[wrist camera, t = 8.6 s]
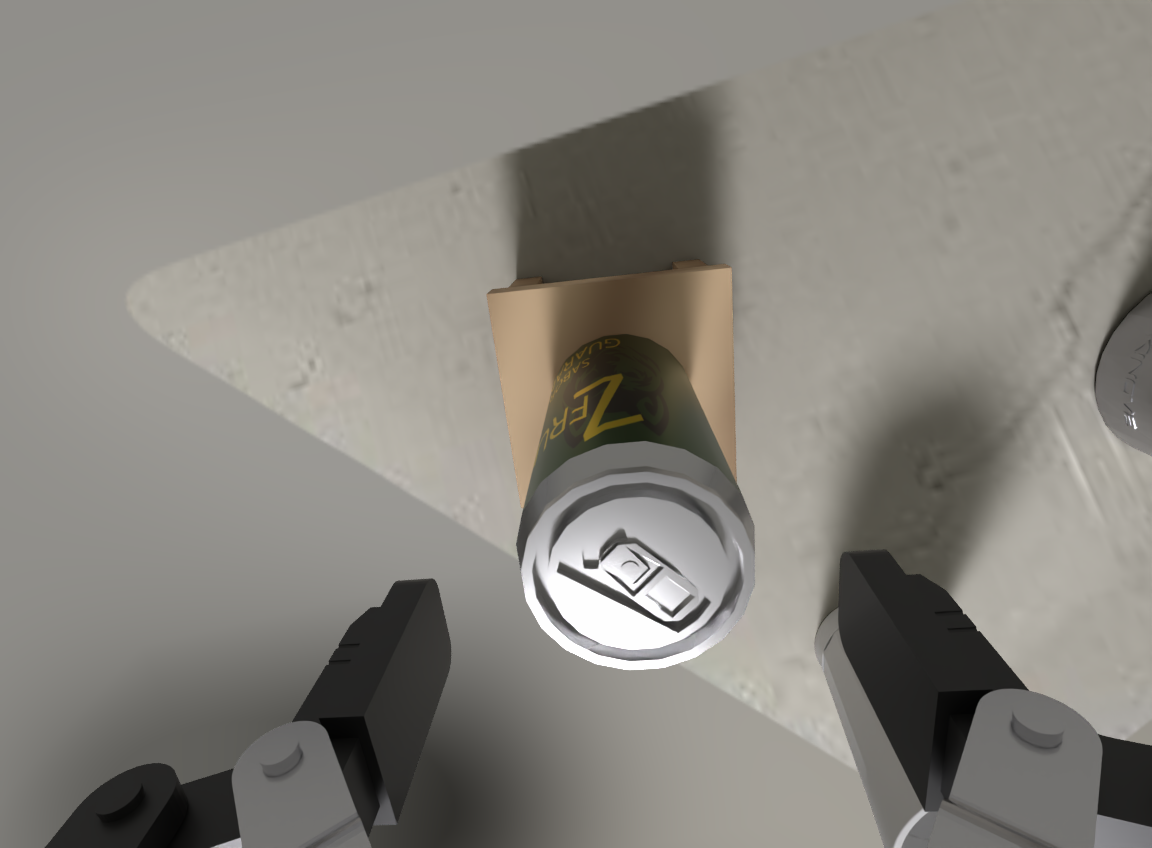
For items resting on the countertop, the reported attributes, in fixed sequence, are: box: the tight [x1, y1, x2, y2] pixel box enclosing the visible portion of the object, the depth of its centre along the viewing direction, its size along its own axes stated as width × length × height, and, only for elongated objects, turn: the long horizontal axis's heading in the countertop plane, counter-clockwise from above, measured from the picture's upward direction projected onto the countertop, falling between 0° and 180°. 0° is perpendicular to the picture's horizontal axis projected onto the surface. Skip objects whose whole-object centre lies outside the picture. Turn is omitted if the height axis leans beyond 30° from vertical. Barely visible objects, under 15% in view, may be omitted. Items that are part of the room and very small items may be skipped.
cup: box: [815, 608, 938, 848], centre depth 30 cm, size 8×8×12 cm
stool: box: [487, 259, 737, 508], centre depth 27 cm, size 9×9×6 cm
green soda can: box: [516, 334, 755, 670], centre depth 19 cm, size 5×5×12 cm
